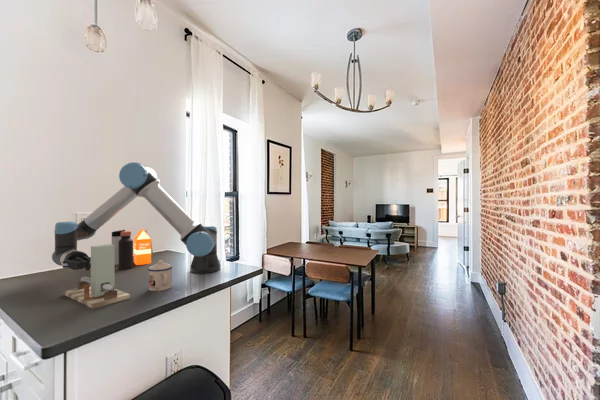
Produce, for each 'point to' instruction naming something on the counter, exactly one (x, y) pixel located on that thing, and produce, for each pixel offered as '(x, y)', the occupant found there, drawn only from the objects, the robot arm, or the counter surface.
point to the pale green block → (102, 268)
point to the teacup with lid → (160, 276)
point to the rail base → (86, 298)
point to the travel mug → (116, 244)
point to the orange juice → (142, 248)
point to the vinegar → (125, 251)
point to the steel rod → (103, 285)
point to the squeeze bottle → (151, 243)
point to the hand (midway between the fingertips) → (99, 266)
